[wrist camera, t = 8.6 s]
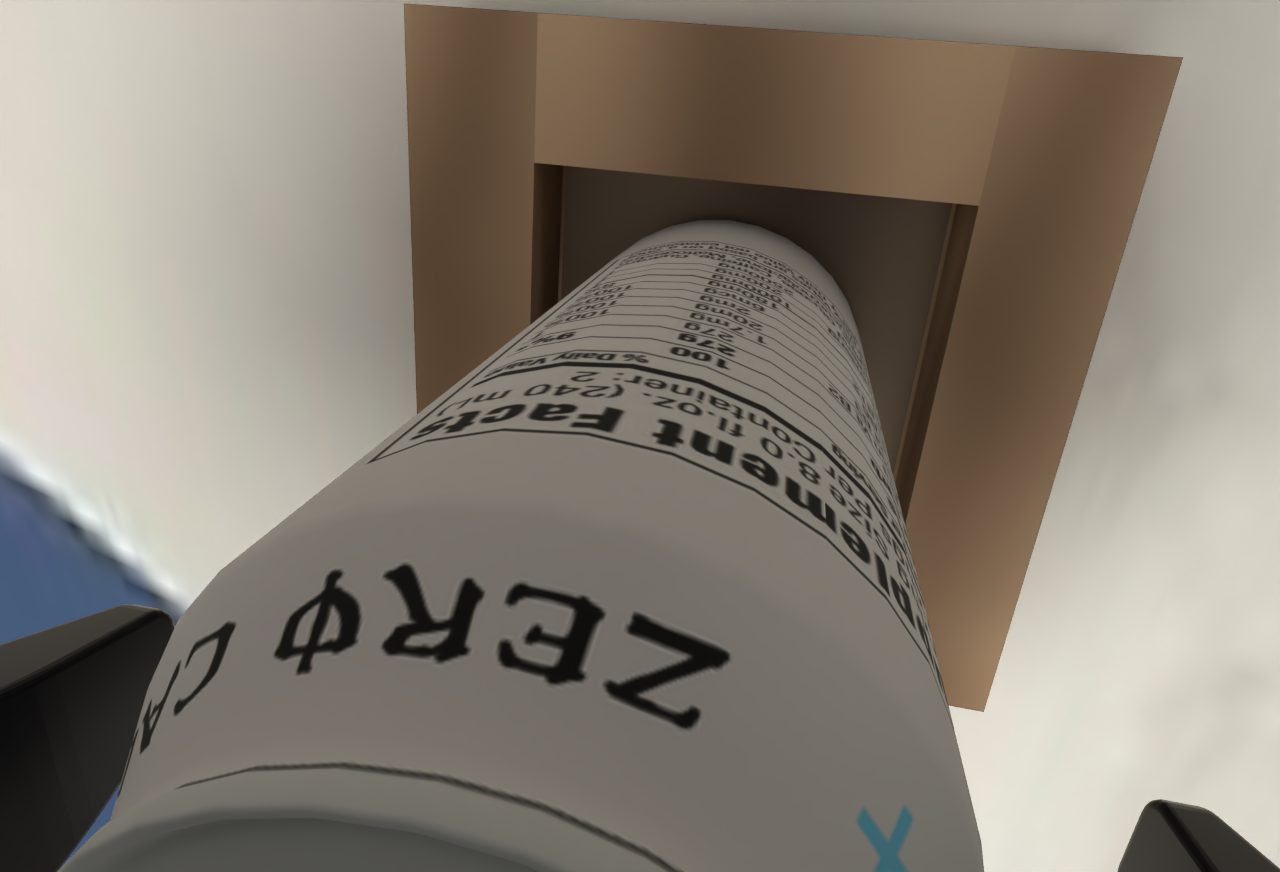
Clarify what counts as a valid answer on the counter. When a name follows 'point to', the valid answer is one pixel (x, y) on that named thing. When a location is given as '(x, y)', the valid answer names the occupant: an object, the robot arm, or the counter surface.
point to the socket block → (808, 230)
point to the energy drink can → (579, 616)
